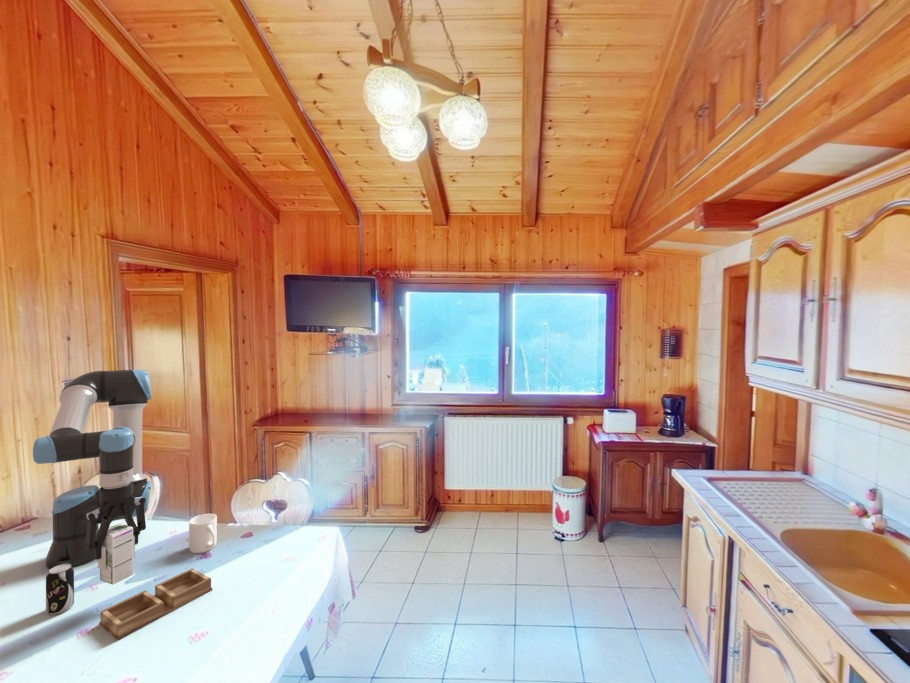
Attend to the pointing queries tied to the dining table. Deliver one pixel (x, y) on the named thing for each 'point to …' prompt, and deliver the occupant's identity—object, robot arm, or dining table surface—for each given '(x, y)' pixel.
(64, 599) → the beverage can
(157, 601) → the rack
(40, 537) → the dining table surface
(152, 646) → the dining table surface
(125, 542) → the syrup box
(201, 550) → the mug
